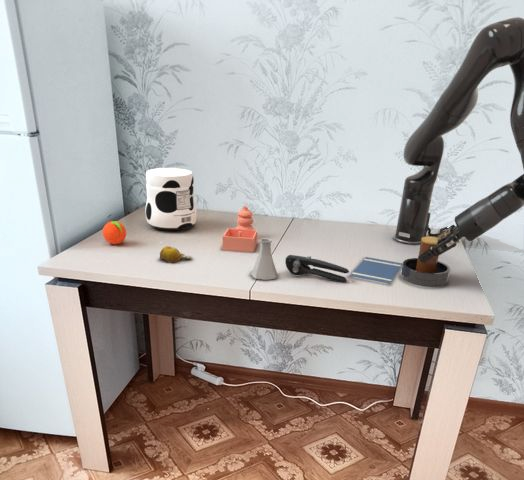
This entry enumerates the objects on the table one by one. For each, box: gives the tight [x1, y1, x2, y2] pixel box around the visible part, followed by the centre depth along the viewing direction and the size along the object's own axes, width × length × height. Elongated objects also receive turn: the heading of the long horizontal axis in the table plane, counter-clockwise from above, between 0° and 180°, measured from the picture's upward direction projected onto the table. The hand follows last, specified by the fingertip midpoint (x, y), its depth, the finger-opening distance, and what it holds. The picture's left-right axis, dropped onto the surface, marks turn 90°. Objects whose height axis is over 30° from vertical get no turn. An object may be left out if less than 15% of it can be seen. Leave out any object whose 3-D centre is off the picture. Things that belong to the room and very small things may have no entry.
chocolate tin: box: [416, 235, 441, 273], centre depth 136 cm, size 5×5×9 cm
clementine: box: [102, 220, 127, 245], centre depth 153 cm, size 8×7×7 cm
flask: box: [250, 237, 278, 281], centre depth 134 cm, size 7×7×10 cm
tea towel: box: [349, 256, 403, 285], centre depth 143 cm, size 18×11×1 cm, turn 155°
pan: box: [400, 257, 451, 288], centre depth 138 cm, size 12×12×4 cm
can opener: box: [285, 254, 350, 283], centre depth 136 cm, size 18×7×6 cm, turn 69°
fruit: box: [159, 245, 191, 263], centre depth 144 cm, size 8×8×4 cm
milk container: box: [144, 167, 198, 231], centre depth 169 cm, size 17×17×18 cm
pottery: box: [222, 205, 258, 253], centre depth 159 cm, size 18×10×10 cm, turn 173°
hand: (421, 256), depth 137 cm, fingers closed on chocolate tin, 5 cm apart
